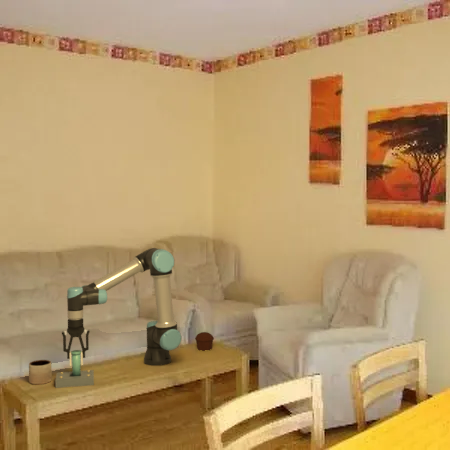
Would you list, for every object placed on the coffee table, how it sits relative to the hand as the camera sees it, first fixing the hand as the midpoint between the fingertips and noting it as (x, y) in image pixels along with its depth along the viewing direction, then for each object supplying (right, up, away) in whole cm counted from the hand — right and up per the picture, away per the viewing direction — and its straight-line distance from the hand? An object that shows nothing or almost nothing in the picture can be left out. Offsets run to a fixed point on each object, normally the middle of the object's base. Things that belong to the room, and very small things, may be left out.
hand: (76, 364), depth 286 cm
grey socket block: (-1, -9, 0) cm, 9 cm away
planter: (-19, -9, +2) cm, 21 cm away
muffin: (+61, -6, +64) cm, 89 cm away
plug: (0, -5, 0) cm, 5 cm away
